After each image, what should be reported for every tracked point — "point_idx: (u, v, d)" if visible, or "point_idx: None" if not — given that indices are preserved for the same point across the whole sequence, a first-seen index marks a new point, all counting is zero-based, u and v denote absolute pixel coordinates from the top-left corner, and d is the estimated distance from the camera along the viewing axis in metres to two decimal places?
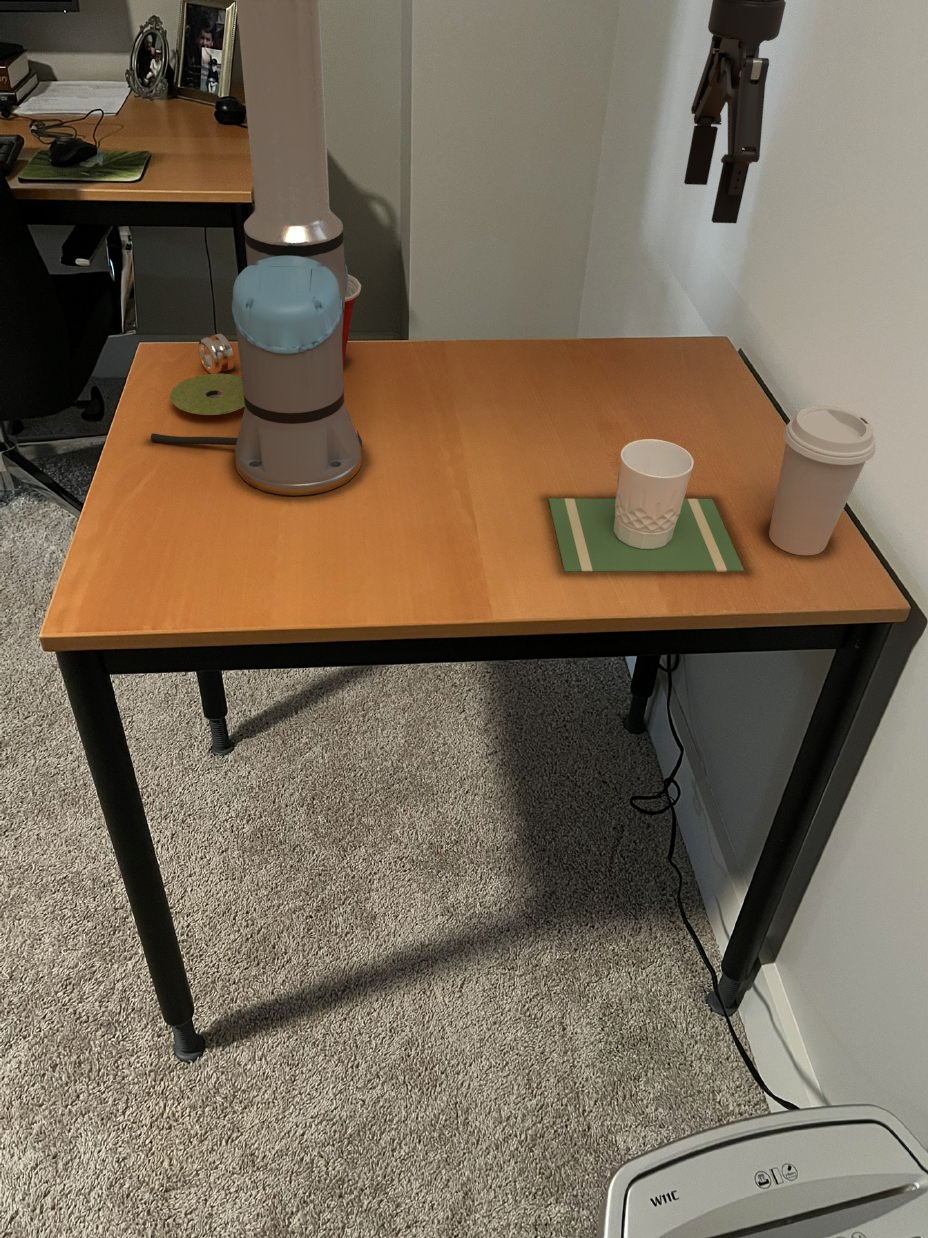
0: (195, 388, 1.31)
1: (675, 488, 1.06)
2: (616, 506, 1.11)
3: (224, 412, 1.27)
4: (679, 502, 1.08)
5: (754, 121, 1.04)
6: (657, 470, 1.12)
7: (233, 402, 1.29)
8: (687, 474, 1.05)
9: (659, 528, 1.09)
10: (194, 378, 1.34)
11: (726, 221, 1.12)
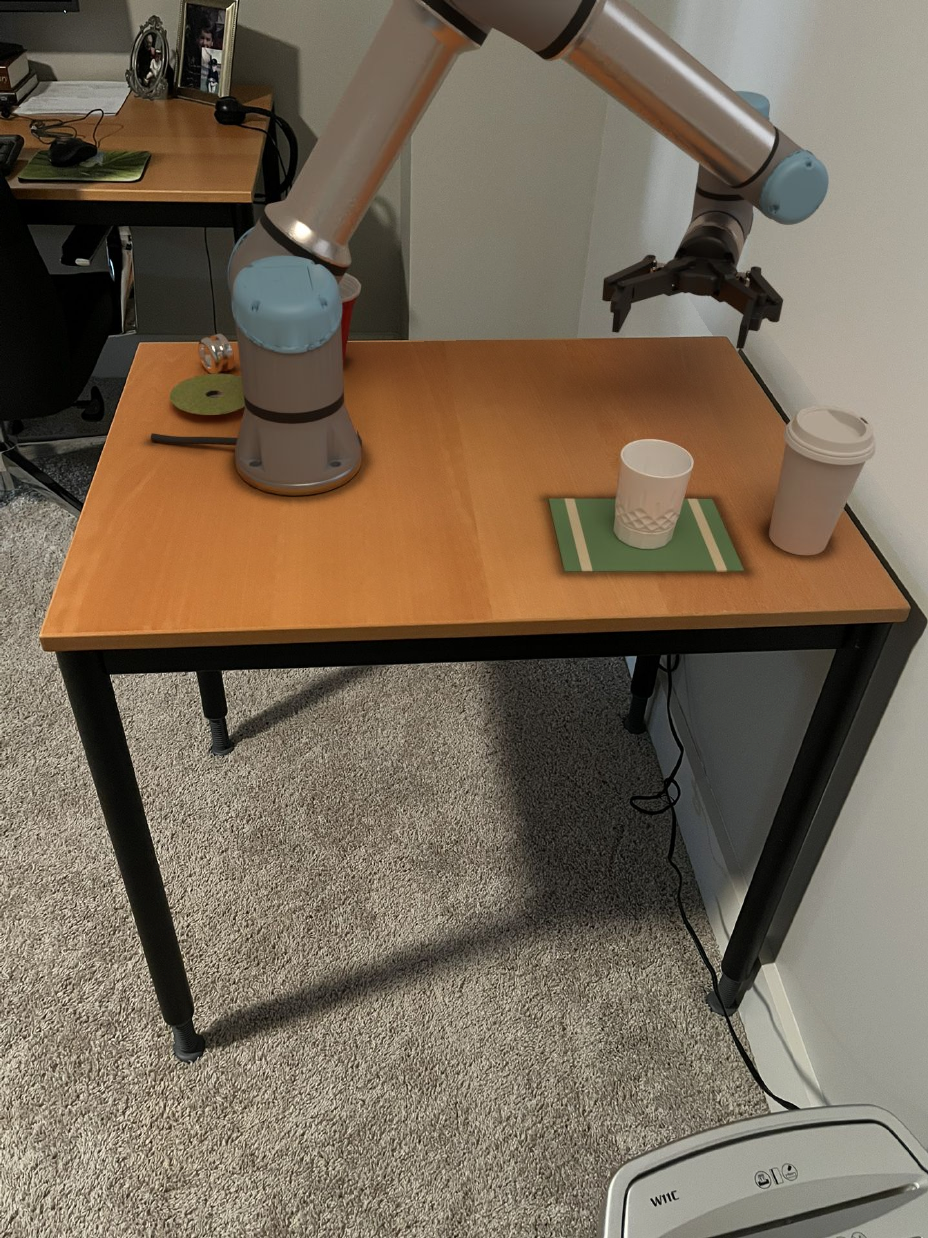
0: (195, 388, 1.31)
1: (675, 488, 1.06)
2: (616, 506, 1.11)
3: (224, 412, 1.27)
4: (679, 502, 1.08)
5: None
6: (657, 470, 1.12)
7: (233, 402, 1.29)
8: (687, 474, 1.05)
9: (659, 528, 1.09)
10: (194, 378, 1.34)
11: (745, 337, 1.06)
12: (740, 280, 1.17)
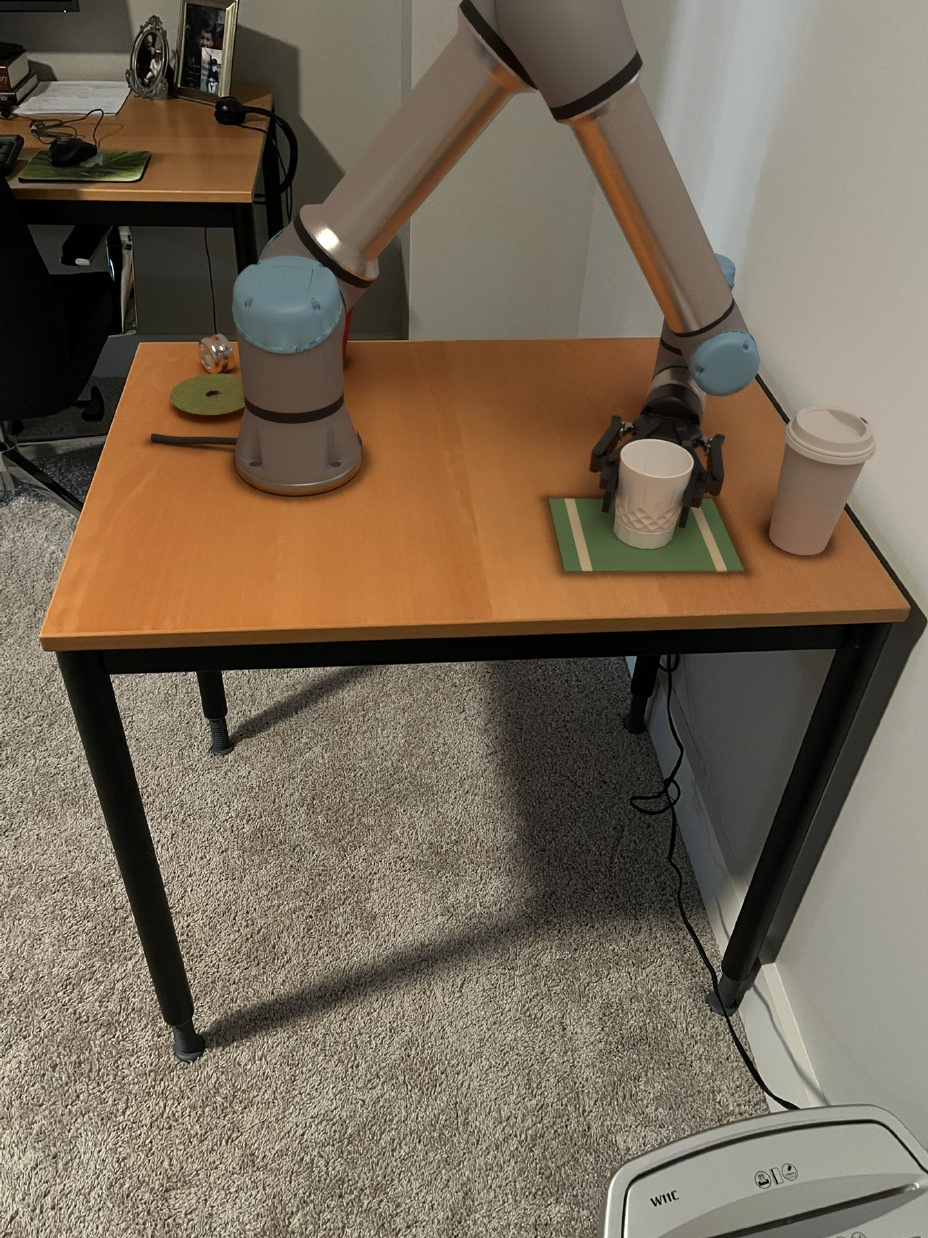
0: (195, 388, 1.31)
1: (675, 488, 1.06)
2: (616, 506, 1.11)
3: (224, 412, 1.27)
4: (679, 502, 1.08)
5: None
6: (657, 470, 1.12)
7: (233, 402, 1.29)
8: (687, 474, 1.05)
9: (659, 528, 1.09)
10: (194, 378, 1.34)
11: None
12: (703, 445, 1.17)
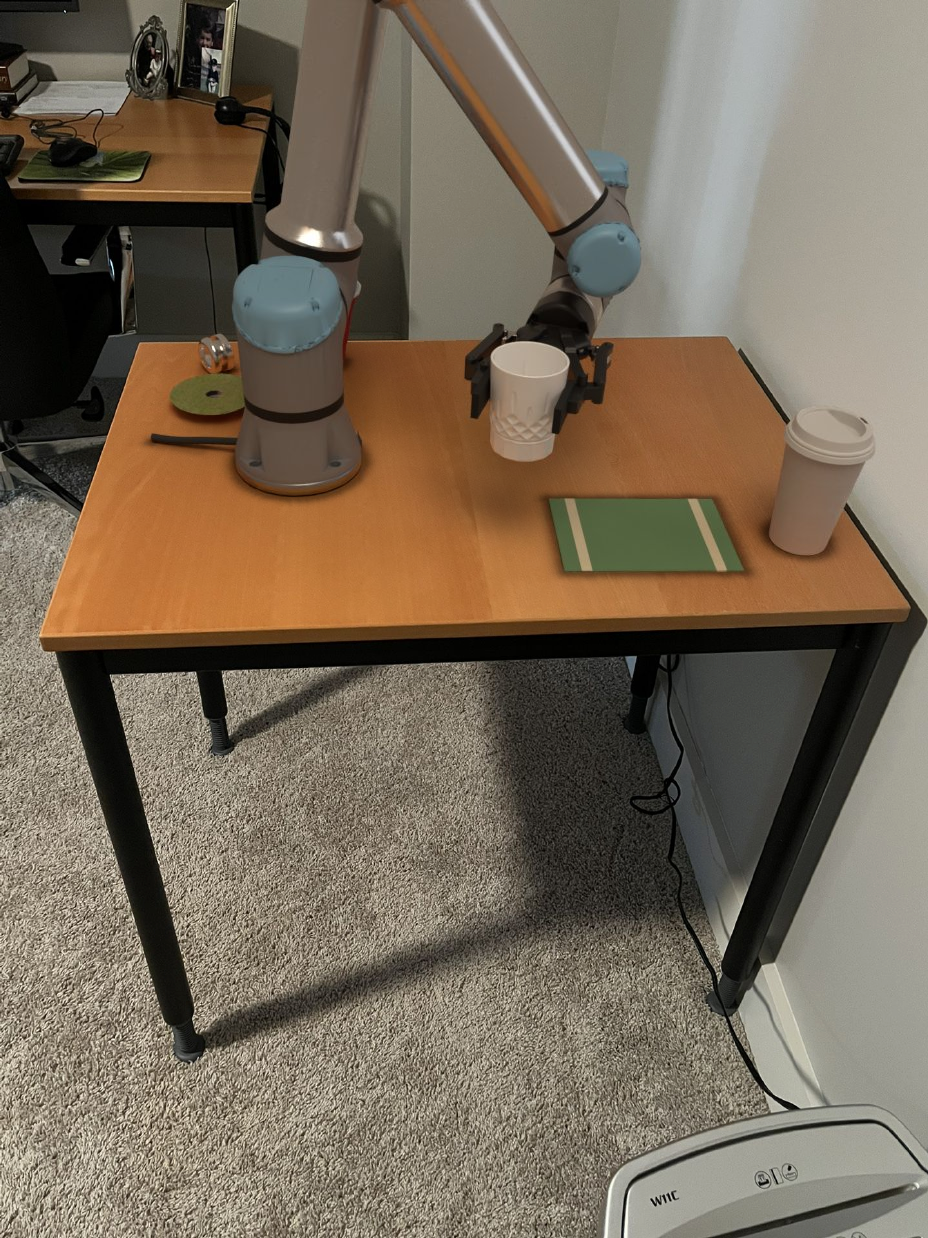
0: (195, 388, 1.31)
1: (548, 390, 0.97)
2: (490, 414, 1.02)
3: (224, 412, 1.27)
4: None
5: None
6: None
7: (233, 402, 1.29)
8: (560, 375, 0.97)
9: (534, 437, 1.01)
10: (194, 378, 1.34)
11: (560, 423, 0.97)
12: (590, 354, 1.09)
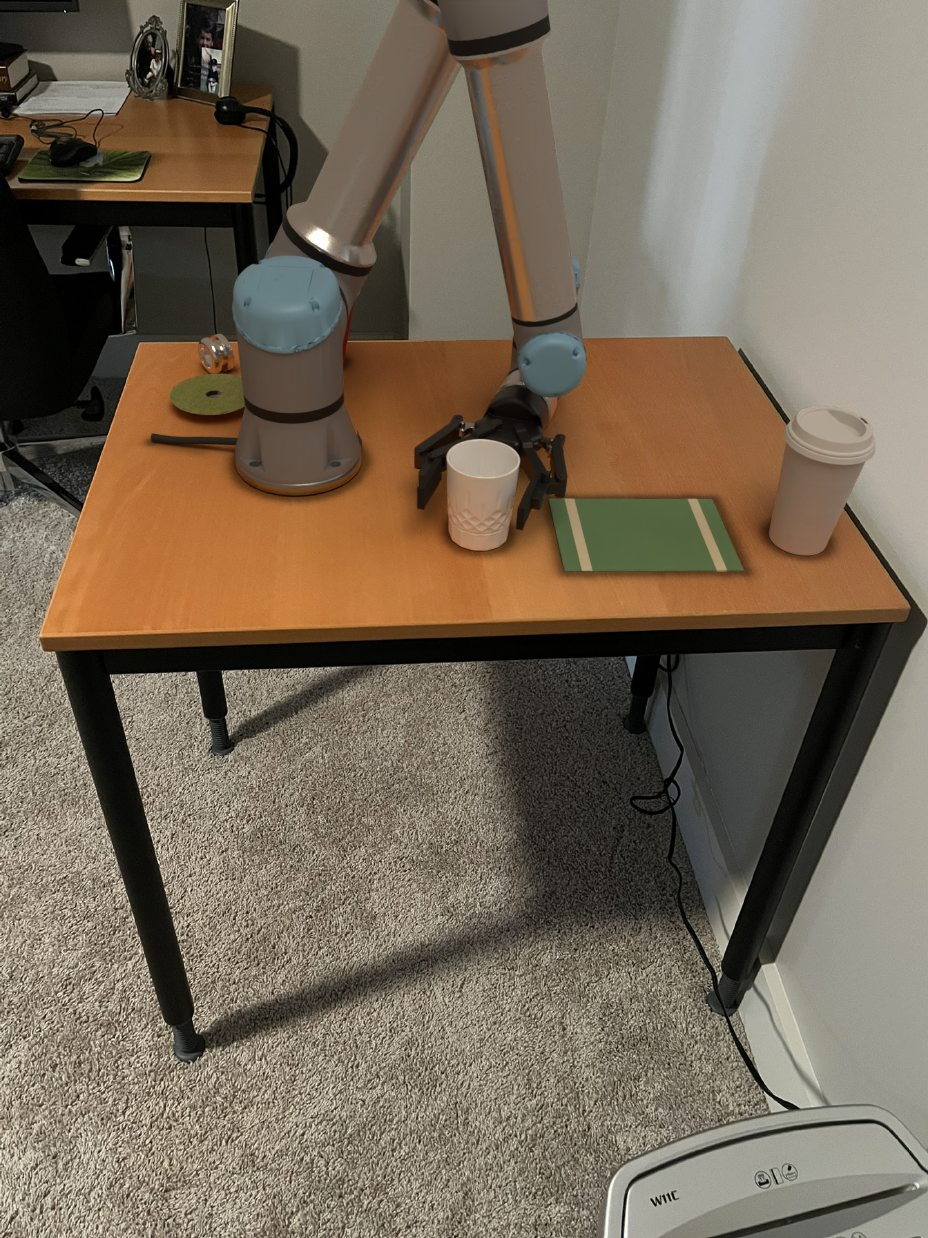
0: (195, 388, 1.31)
1: (499, 489, 1.04)
2: None
3: (224, 412, 1.27)
4: (507, 503, 1.07)
5: None
6: (491, 471, 1.11)
7: (233, 402, 1.29)
8: (511, 475, 1.04)
9: (488, 529, 1.08)
10: (194, 378, 1.34)
11: (524, 520, 1.04)
12: (544, 446, 1.16)
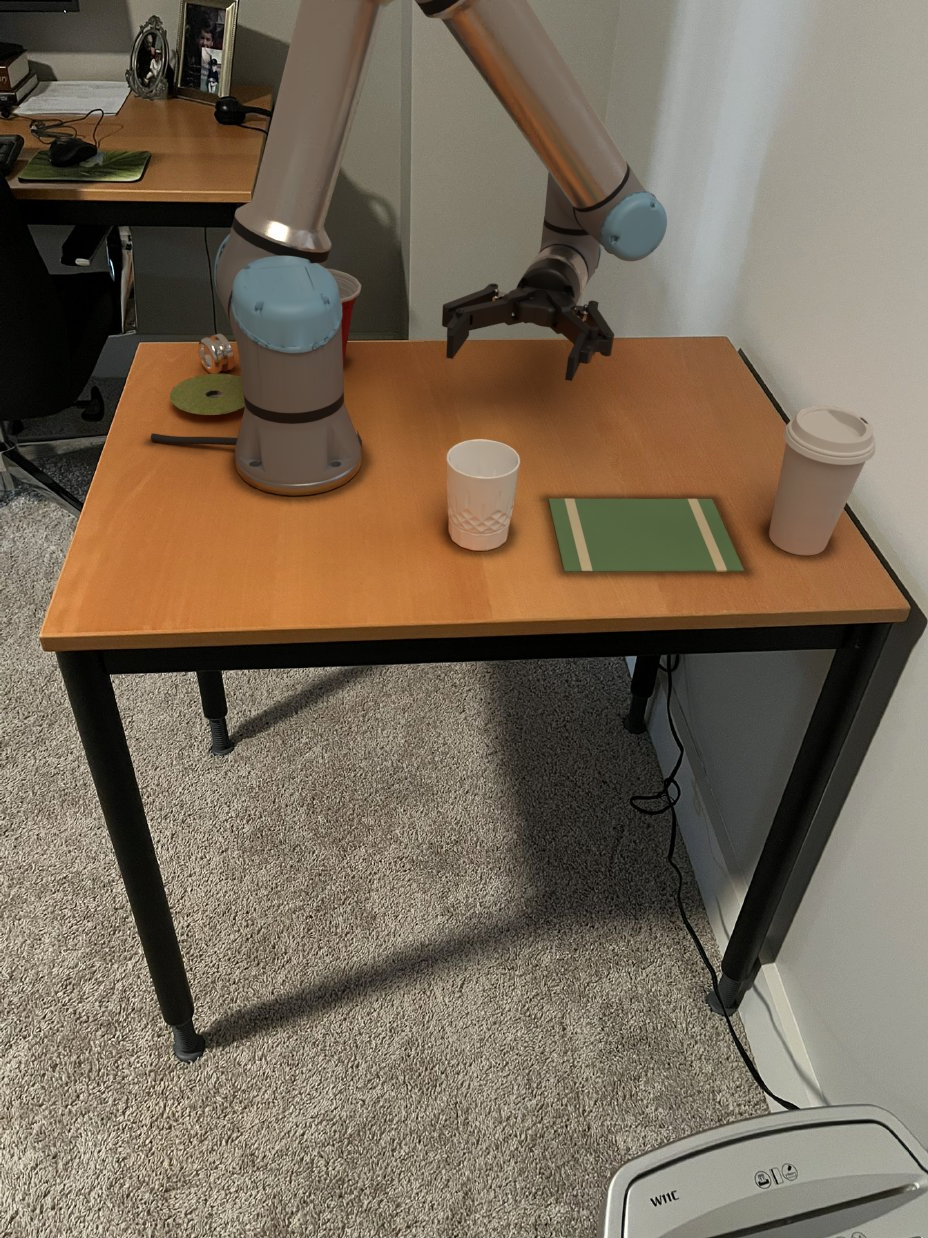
0: (195, 388, 1.31)
1: (499, 489, 1.04)
2: None
3: (224, 412, 1.27)
4: (507, 503, 1.07)
5: None
6: (491, 471, 1.11)
7: (233, 402, 1.29)
8: (511, 475, 1.04)
9: (488, 529, 1.08)
10: (194, 378, 1.34)
11: (573, 370, 1.07)
12: (578, 313, 1.19)
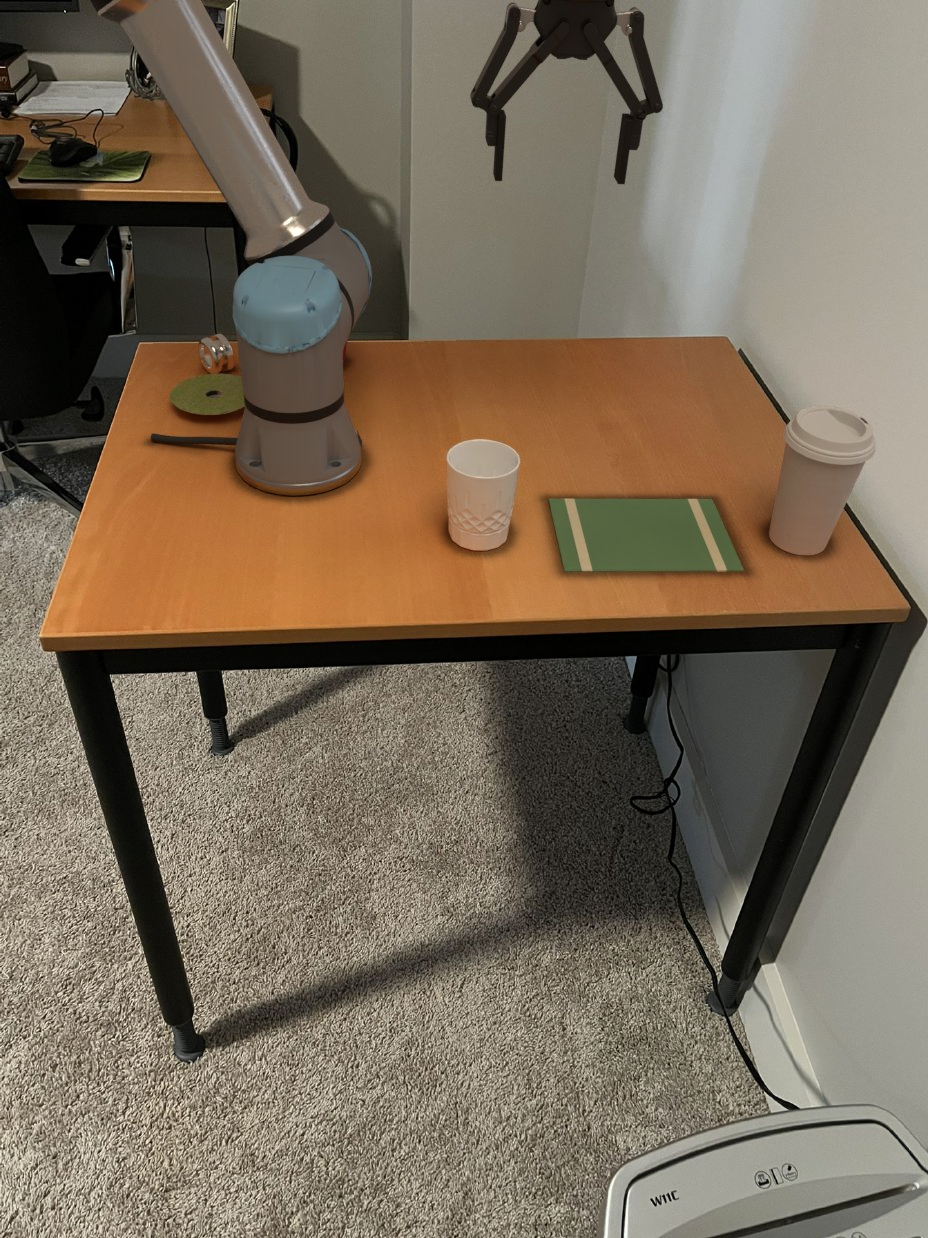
0: (195, 388, 1.31)
1: (499, 489, 1.04)
2: None
3: (224, 412, 1.27)
4: (507, 503, 1.07)
5: (486, 66, 1.02)
6: (491, 471, 1.11)
7: (233, 402, 1.29)
8: (511, 475, 1.04)
9: (488, 529, 1.08)
10: (194, 378, 1.34)
11: (494, 175, 1.09)
12: (527, 22, 1.00)
